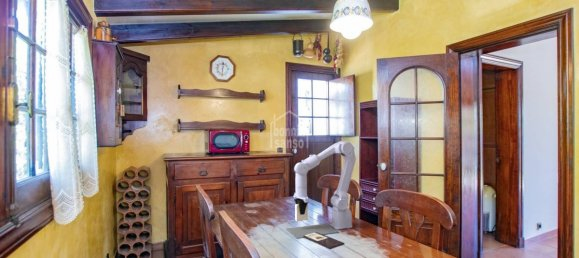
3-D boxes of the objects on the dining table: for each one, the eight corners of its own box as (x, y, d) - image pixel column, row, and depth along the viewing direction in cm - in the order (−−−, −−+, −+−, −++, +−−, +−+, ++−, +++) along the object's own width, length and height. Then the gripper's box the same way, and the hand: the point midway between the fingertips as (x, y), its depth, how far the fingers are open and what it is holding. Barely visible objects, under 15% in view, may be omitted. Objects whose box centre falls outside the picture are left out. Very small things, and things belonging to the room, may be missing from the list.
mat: (325, 224, 160) (325, 223, 160) (338, 232, 147) (338, 231, 147) (286, 229, 152) (286, 228, 152) (296, 238, 139) (296, 237, 139)
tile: (306, 218, 154) (305, 203, 154) (307, 220, 152) (307, 204, 152) (295, 220, 152) (295, 204, 152) (296, 221, 150) (296, 205, 150)
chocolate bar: (329, 247, 127) (302, 236, 141) (329, 250, 127) (302, 238, 141) (344, 242, 132) (316, 232, 147) (344, 245, 132) (316, 233, 147)
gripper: (288, 184, 157) (288, 210, 157) (299, 189, 144) (299, 218, 144) (301, 183, 160) (301, 209, 160) (312, 188, 146) (312, 216, 146)
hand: (301, 213), depth 152 cm, fingers closed on tile, 2 cm apart
